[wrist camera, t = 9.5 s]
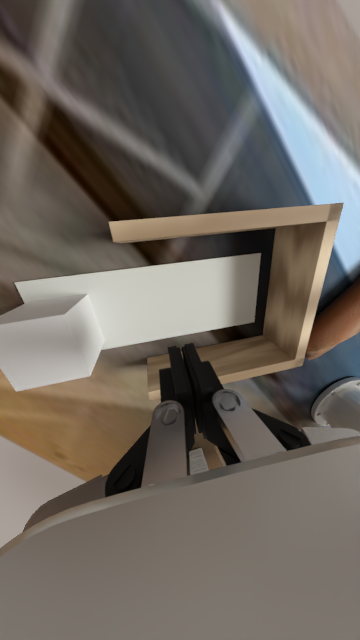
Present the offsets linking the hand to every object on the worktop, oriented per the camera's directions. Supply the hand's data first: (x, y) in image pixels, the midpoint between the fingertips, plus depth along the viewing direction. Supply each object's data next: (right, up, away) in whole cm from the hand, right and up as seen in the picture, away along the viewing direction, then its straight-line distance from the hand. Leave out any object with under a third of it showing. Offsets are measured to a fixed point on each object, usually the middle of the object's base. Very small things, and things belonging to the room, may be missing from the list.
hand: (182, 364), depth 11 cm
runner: (-3, +5, +9) cm, 11 cm away
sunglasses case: (+25, +5, +16) cm, 30 cm away
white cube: (-13, +3, +8) cm, 15 cm away
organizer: (+4, +6, +10) cm, 12 cm away
